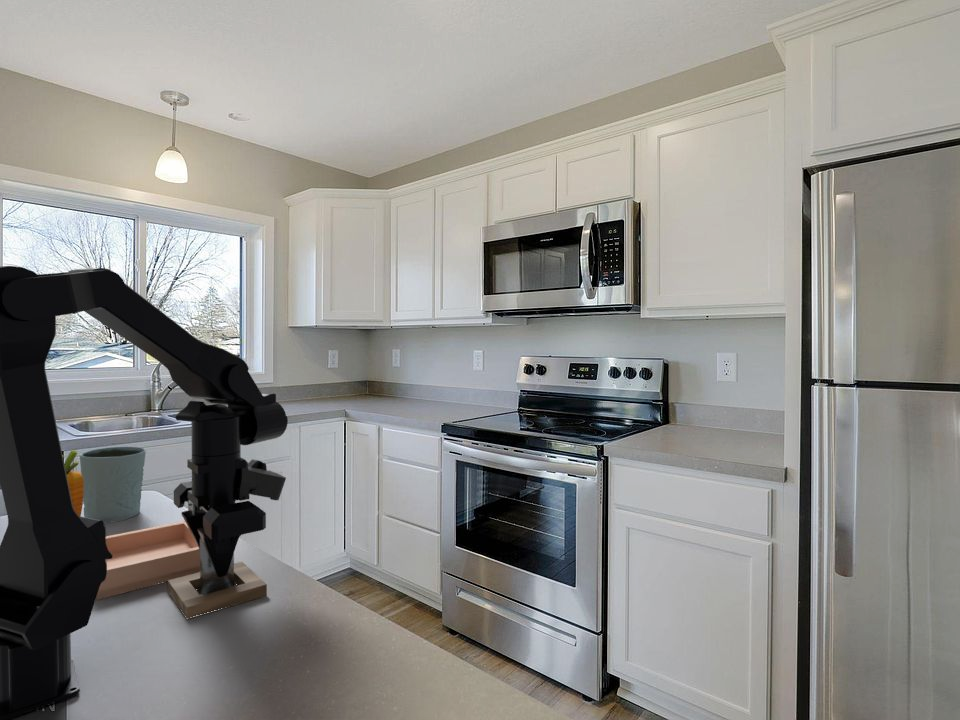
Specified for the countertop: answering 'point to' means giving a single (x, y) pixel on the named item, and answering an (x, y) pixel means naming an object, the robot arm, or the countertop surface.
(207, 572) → the gunmetal pin
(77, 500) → the carrot
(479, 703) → the countertop surface
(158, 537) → the terracotta tray
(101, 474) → the green embossed pot
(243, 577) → the walnut collar
